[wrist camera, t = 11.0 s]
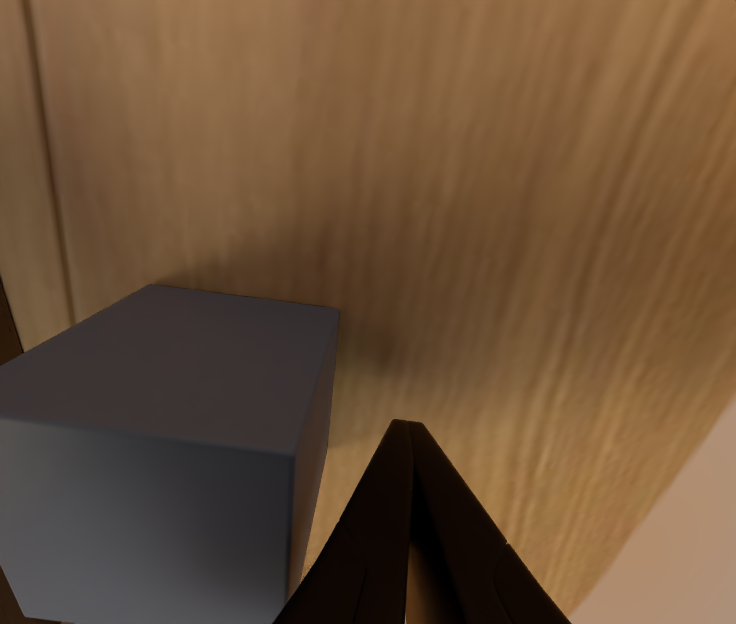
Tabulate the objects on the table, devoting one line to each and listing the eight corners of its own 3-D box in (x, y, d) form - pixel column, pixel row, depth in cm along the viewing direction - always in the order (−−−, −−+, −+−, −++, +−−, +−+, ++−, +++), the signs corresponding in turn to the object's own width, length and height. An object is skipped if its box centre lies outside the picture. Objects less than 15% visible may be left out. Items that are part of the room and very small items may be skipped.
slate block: (340, 307, 9) (295, 454, 5) (326, 452, 11) (285, 653, 7) (149, 282, 9) (-79, 405, 5) (168, 432, 11) (22, 619, 7)
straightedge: (-69, 57, 8) (-326, 4, 5) (125, 680, 18) (78, 774, 15) (-145, 48, 8) (-444, -11, 5) (93, 676, 18) (40, 770, 15)
